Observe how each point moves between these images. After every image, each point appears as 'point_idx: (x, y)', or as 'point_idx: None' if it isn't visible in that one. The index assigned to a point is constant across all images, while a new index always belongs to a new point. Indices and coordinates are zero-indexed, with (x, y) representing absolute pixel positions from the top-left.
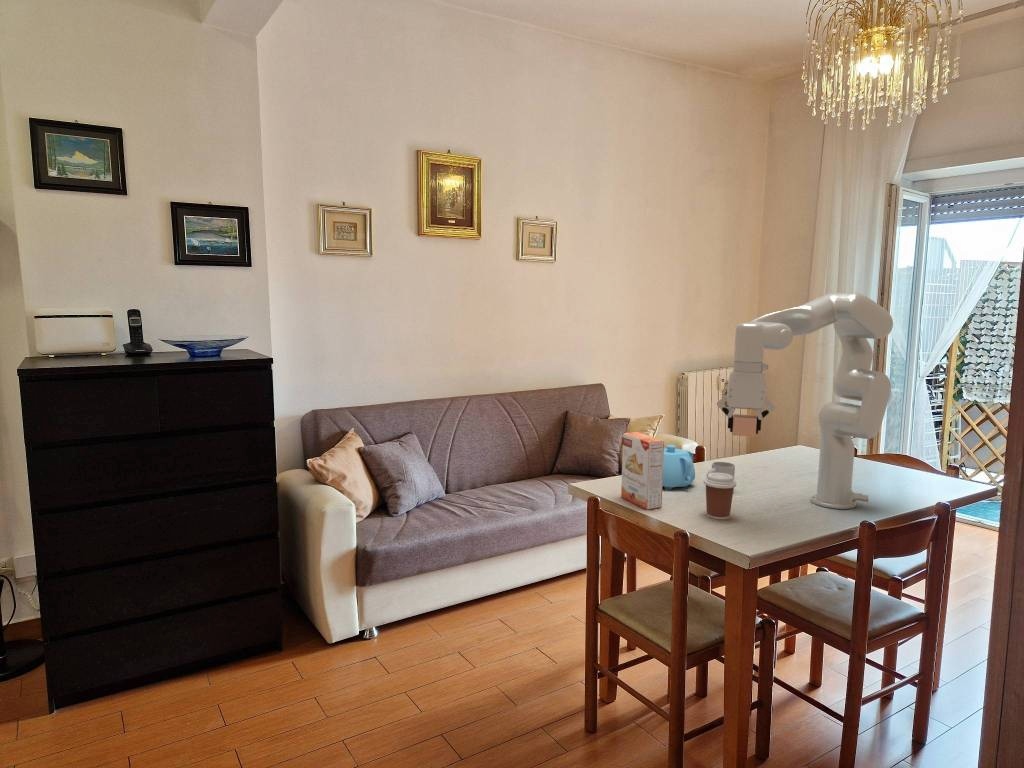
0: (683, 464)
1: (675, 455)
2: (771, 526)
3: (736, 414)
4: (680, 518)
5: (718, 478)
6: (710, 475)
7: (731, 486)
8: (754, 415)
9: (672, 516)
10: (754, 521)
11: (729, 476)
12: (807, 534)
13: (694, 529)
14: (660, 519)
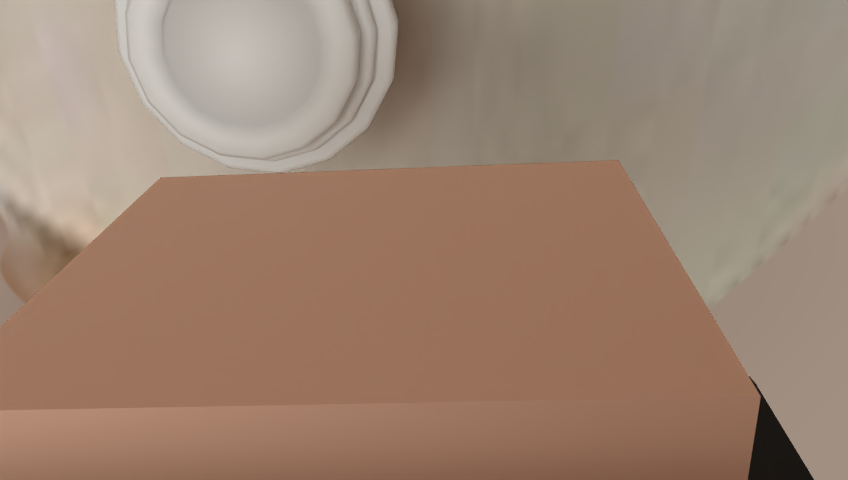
0: None
1: None
2: (635, 80)
3: (35, 467)
4: (121, 141)
5: (243, 156)
6: (157, 83)
7: (363, 129)
8: (696, 426)
9: (69, 123)
10: (538, 21)
11: (324, 46)
12: (824, 145)
13: None
14: (31, 200)
